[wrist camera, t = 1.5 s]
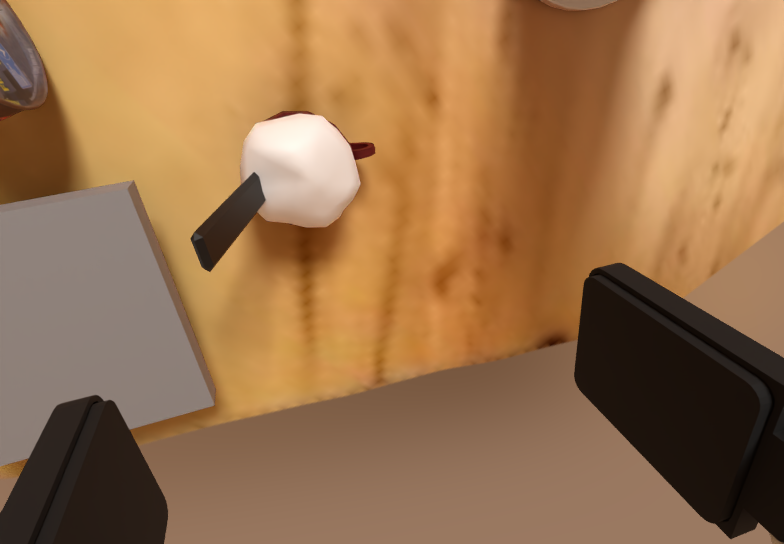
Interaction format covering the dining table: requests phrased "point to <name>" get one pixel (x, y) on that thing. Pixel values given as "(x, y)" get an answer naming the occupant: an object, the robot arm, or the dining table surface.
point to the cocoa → (285, 180)
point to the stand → (90, 316)
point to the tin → (19, 67)
